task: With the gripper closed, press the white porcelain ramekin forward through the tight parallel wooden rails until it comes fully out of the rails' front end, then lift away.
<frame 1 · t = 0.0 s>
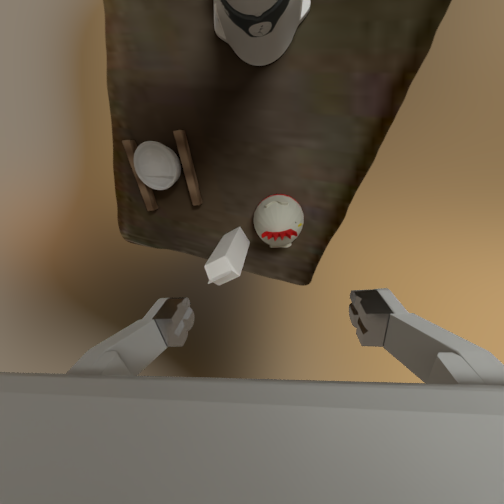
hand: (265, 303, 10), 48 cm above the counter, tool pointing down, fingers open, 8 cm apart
kitchen timer: (278, 218, 57), on the counter
milk: (237, 238, 62), on the counter
parallel wooden rails: (167, 173, 55), on the counter
ramekin: (165, 165, 54), on the counter
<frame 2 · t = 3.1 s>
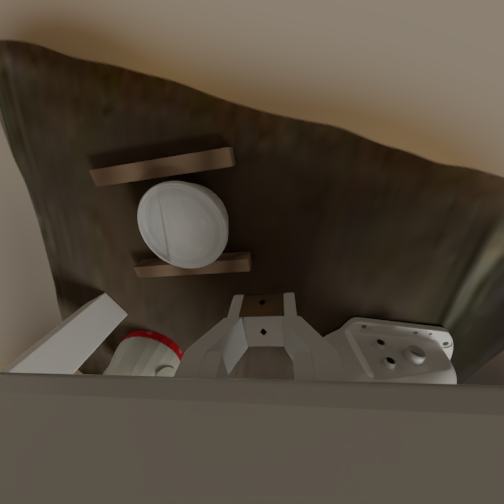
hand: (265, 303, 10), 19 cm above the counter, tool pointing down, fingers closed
kitchen timer: (154, 351, 44), on the counter
milk: (108, 307, 40), on the counter
parallel wooden rails: (183, 218, 29), on the counter
ramekin: (196, 216, 29), on the counter
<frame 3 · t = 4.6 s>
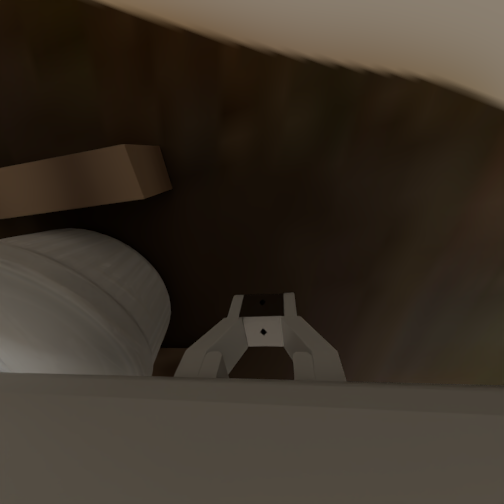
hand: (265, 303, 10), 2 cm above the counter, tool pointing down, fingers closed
parallel wooden rails: (84, 291, 14), on the counter
ramekin: (111, 286, 14), on the counter
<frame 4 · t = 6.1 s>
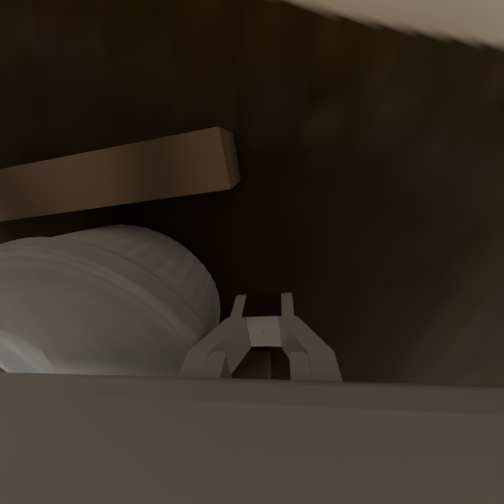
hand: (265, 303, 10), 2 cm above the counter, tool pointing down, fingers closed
parallel wooden rails: (127, 291, 14), on the counter
ramekin: (153, 287, 14), on the counter, touching gripper
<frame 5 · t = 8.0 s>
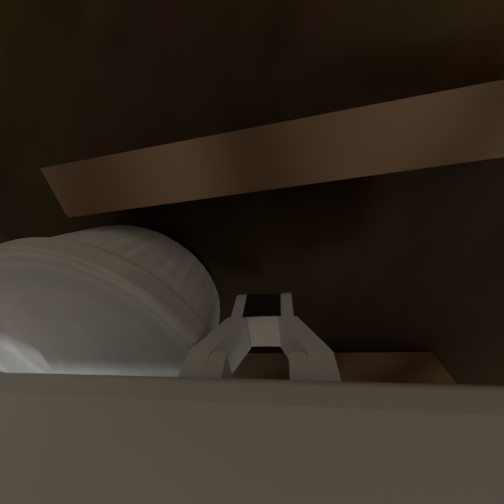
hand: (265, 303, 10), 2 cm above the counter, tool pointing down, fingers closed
parallel wooden rails: (285, 284, 12), on the counter
ramekin: (152, 288, 14), on the counter, touching gripper
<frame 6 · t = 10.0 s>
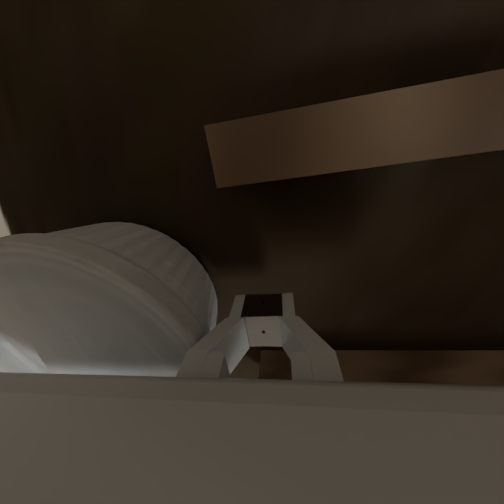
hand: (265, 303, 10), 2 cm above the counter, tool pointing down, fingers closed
parallel wooden rails: (413, 274, 11), on the counter
ramekin: (150, 286, 13), on the counter, touching gripper
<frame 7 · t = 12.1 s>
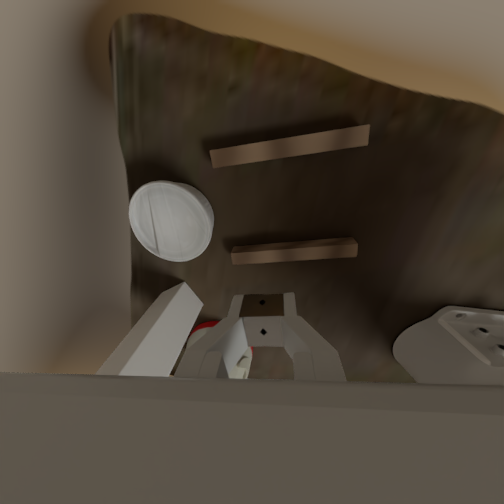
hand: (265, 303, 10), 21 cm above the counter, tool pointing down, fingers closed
kitchen timer: (221, 343, 44), on the counter
milk: (183, 297, 39), on the counter
parallel wooden rails: (287, 203, 28), on the counter
ramekin: (185, 214, 31), on the counter
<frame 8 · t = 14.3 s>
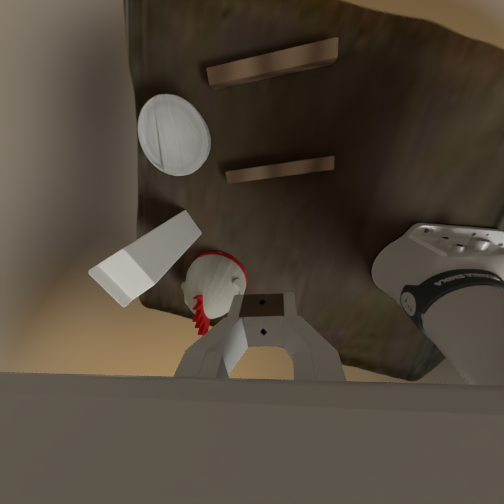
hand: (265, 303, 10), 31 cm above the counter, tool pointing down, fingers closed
kitchen timer: (218, 276, 48), on the counter
milk: (184, 227, 43), on the counter
parallel wooden rails: (274, 124, 33), on the counter
ramekin: (185, 139, 36), on the counter
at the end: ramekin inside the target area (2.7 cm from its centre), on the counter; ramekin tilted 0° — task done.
